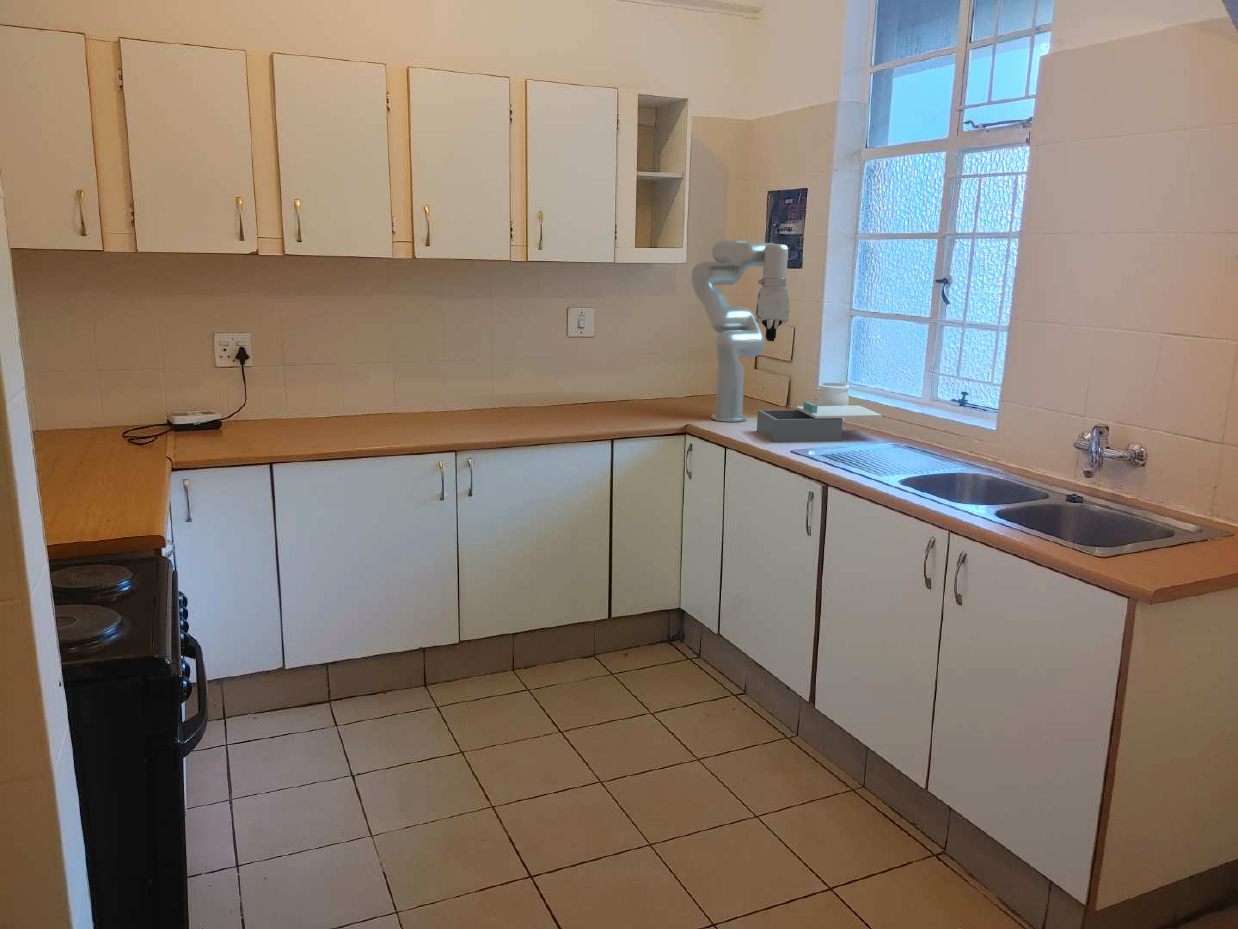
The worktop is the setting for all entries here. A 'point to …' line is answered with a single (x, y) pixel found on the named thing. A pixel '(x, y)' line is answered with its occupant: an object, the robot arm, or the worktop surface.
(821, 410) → the lid
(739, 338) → the robot arm
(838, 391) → the jar
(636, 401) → the worktop surface
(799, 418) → the storage box
